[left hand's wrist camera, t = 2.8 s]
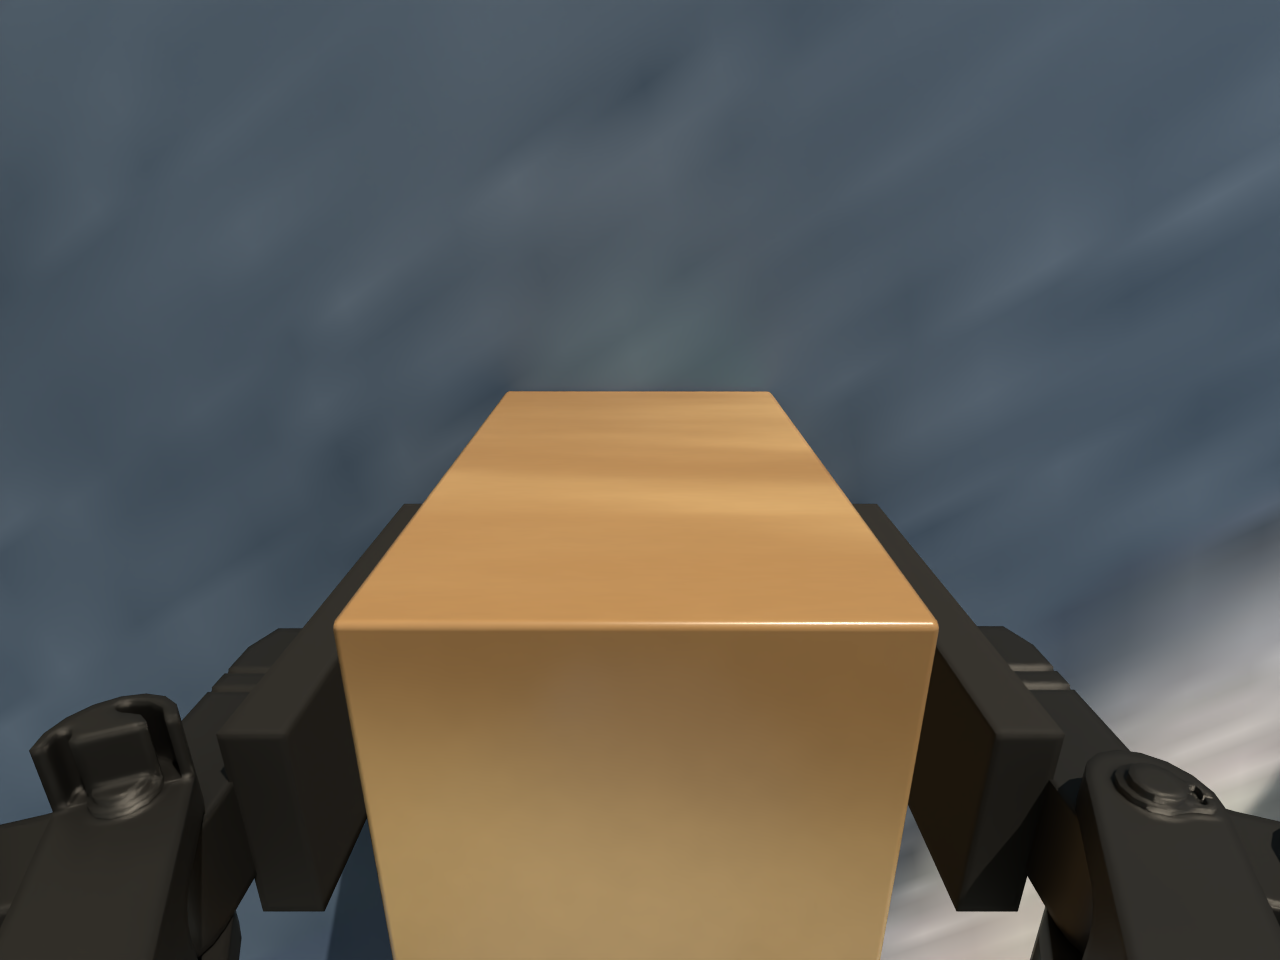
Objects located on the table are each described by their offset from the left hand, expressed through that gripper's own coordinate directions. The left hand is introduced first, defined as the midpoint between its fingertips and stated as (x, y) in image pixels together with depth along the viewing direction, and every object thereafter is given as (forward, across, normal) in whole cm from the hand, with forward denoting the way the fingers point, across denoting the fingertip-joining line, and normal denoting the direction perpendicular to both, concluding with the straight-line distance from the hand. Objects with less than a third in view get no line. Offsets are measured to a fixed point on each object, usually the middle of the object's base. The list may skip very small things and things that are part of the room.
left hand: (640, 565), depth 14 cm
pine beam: (0, 0, -8) cm, 8 cm away
